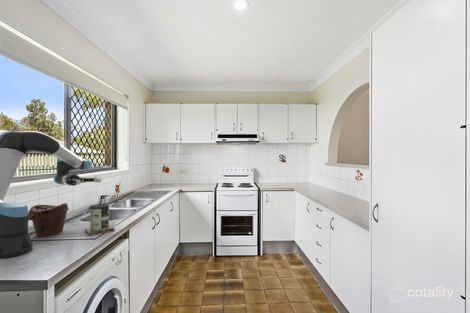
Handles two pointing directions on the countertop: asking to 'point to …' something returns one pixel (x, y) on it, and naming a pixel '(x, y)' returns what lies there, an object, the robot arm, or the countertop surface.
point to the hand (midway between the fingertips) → (90, 181)
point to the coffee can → (99, 217)
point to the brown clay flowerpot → (48, 219)
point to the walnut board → (99, 231)
